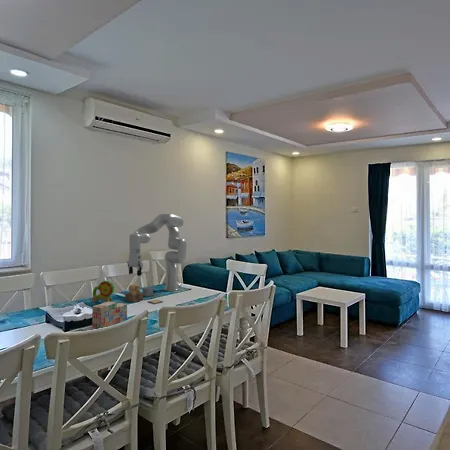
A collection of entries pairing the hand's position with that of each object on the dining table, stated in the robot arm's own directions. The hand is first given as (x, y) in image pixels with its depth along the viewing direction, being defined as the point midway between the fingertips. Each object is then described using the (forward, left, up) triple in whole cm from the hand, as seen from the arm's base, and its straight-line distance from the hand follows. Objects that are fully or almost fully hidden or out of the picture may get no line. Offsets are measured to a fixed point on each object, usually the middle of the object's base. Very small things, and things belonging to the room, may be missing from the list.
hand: (135, 274), depth 259 cm
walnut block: (+1, 0, -18) cm, 18 cm away
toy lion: (+19, -11, -19) cm, 28 cm away
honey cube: (+1, 0, -13) cm, 13 cm away
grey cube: (-15, -5, -19) cm, 25 cm away
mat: (-6, +15, -18) cm, 25 cm away
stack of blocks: (+42, +34, -19) cm, 57 cm away
